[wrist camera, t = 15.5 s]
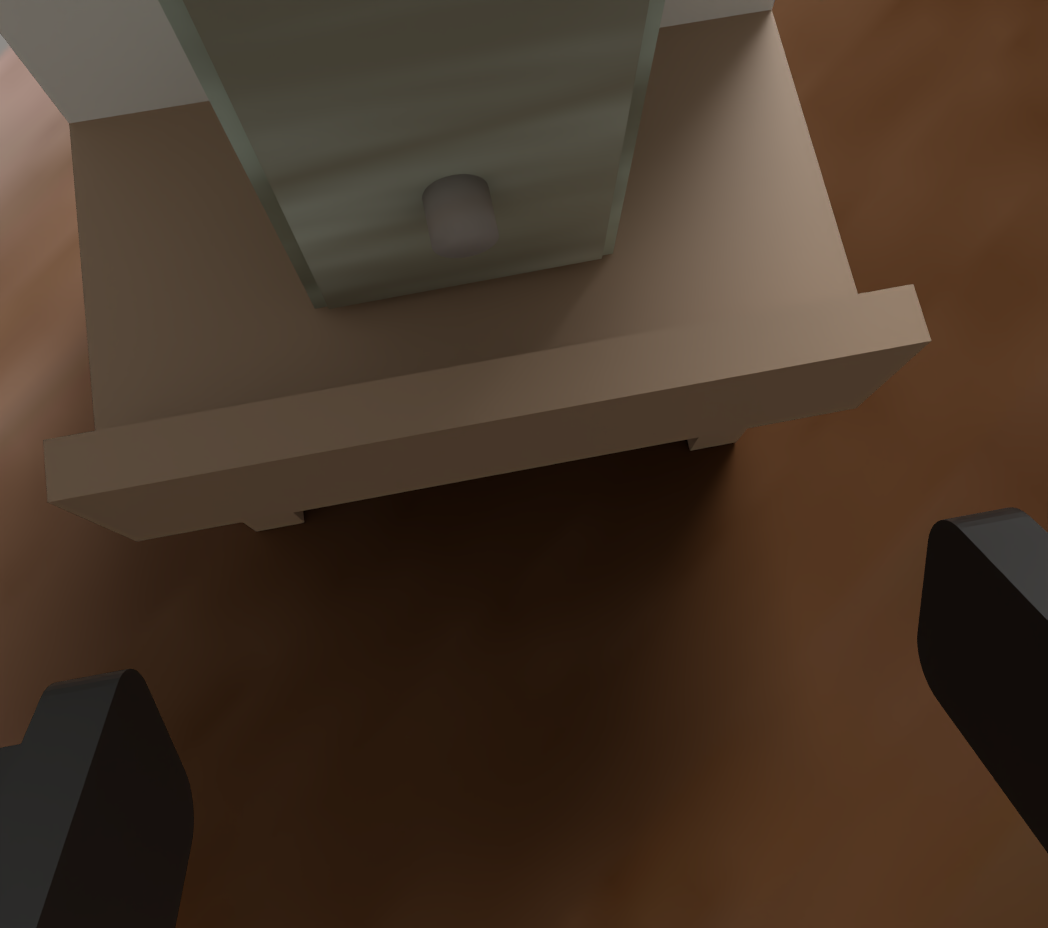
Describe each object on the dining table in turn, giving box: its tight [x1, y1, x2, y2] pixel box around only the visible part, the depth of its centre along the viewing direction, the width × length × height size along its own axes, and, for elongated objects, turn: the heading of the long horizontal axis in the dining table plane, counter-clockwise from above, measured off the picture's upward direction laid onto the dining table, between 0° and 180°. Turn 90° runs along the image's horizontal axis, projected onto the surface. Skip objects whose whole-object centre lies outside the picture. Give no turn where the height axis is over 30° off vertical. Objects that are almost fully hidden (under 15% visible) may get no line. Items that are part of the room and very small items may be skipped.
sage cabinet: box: [158, 0, 665, 309], centre depth 13 cm, size 6×6×10 cm
